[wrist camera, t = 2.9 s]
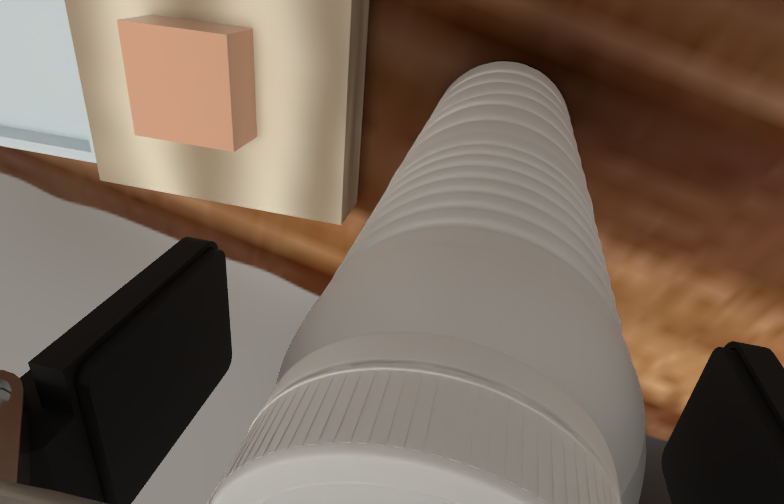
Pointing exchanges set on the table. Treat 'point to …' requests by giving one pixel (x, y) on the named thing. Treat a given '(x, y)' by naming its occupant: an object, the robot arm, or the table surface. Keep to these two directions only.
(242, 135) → the terracotta tile
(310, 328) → the water bottle
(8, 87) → the box
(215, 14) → the birch plate
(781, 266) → the table surface
